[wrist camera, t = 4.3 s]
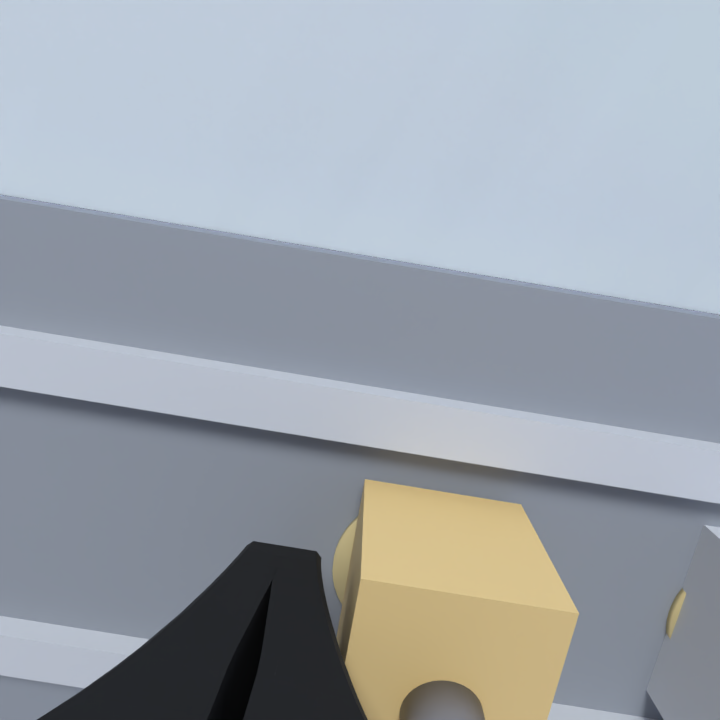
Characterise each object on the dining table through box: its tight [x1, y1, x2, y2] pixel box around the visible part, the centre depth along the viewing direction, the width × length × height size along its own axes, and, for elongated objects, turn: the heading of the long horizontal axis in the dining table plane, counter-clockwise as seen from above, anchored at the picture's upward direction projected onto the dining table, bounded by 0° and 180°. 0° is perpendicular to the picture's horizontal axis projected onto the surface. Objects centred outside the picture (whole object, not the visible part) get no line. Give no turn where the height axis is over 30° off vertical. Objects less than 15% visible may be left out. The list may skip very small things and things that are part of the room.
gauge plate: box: [0, 195, 720, 720], centre depth 10 cm, size 19×12×6 cm, turn 81°
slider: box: [336, 479, 579, 720], centre depth 9 cm, size 3×4×4 cm
